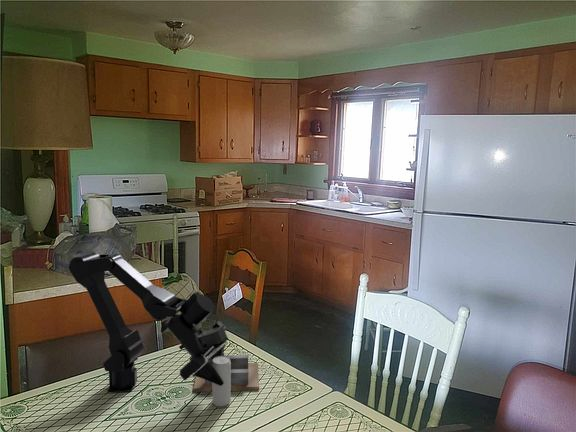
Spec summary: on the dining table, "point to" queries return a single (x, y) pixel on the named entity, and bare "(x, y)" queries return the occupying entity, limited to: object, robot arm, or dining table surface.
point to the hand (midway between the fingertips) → (226, 379)
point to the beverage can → (223, 368)
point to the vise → (235, 376)
